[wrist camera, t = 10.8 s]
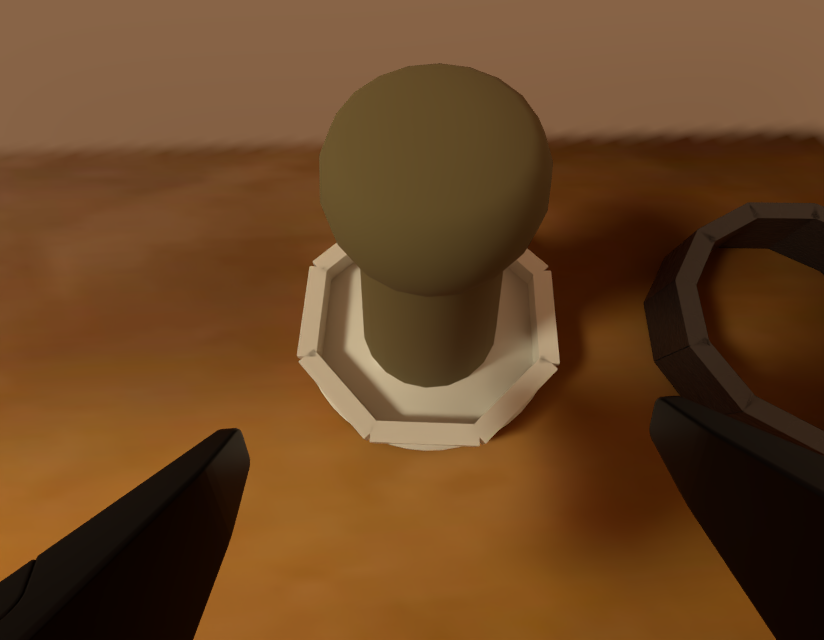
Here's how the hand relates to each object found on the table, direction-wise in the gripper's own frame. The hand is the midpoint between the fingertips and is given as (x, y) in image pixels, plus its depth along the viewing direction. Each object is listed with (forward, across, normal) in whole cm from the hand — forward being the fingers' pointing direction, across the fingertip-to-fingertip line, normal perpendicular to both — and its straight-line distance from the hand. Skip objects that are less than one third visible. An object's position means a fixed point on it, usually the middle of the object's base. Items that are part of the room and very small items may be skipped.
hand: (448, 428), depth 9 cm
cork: (+10, 0, +2) cm, 10 cm away
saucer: (+10, 0, +2) cm, 10 cm away
